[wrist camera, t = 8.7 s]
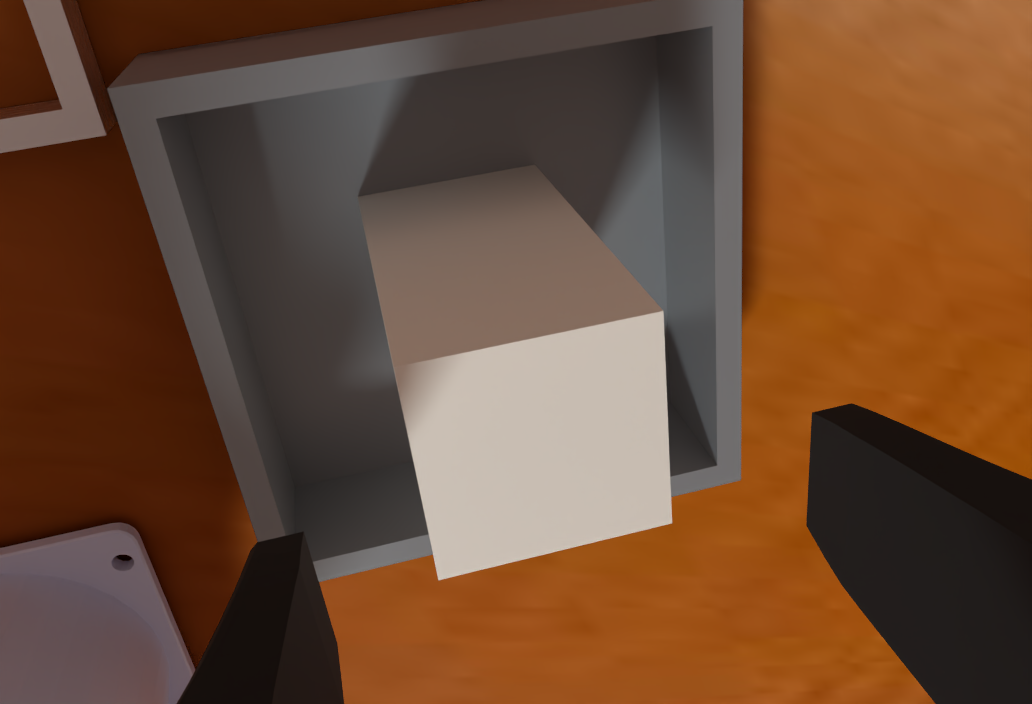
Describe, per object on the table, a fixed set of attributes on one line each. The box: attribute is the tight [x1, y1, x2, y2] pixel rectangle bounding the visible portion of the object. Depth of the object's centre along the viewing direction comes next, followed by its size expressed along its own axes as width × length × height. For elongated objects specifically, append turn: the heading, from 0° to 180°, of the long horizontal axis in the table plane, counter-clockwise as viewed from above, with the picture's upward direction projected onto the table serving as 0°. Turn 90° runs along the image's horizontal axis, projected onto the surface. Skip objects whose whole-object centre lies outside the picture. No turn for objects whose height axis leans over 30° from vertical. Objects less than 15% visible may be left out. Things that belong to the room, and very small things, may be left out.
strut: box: [358, 165, 672, 580], centre depth 17 cm, size 4×4×8 cm
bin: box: [107, 0, 743, 582], centre depth 20 cm, size 11×11×4 cm
